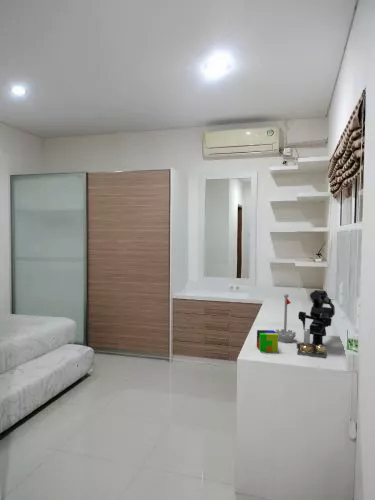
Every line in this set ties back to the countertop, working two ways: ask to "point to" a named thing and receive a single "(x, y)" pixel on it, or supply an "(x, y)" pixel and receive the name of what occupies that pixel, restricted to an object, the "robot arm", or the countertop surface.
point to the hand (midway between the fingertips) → (311, 331)
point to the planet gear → (306, 342)
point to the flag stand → (283, 334)
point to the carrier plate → (317, 352)
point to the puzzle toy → (267, 341)
